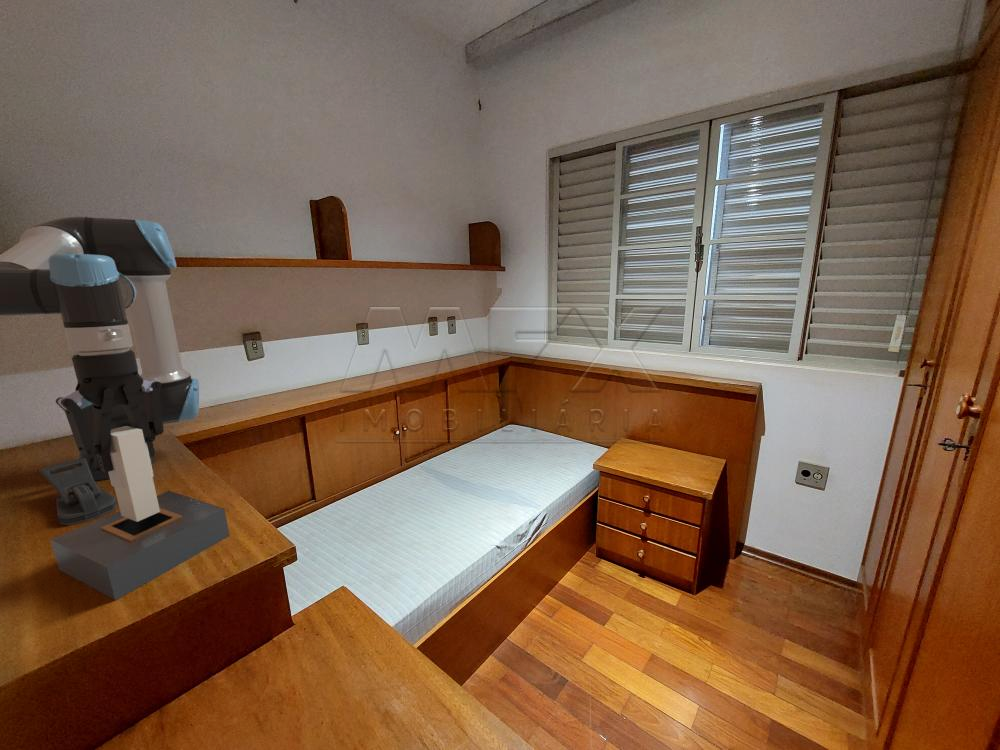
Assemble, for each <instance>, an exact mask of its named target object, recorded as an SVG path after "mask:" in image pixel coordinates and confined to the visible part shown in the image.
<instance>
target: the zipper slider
mask: <svg viewBox="0 0 1000 750" xmlns="http://www.w3.org/2000/svg"><path fill="white" fill-rule="evenodd" d="M76 466H82V467H79V468H75V467H76ZM71 468H72V469H71ZM67 469H68V470H67ZM60 471H61V472H60ZM39 473H40V474H41V475H42V476H43V477H44V479H46V480H47V482H48V483H49V484H50V485H51V486H52V487H53V488H54V489H55V491H56V492H58V494H59V495H60V496H59V497H56V498H55V500H56V501H55V502H56V510H57V511H56V513H57V520H58V522H59V525H64V526H74V525H78V524H82V523H87V522H90V521H93V520H95V519H98V518H101V517H103V516H106V515H107V514H110V513H112V512H114V511H115V510H116V508H117V507H118V501H117V500H116V499H117V497H116V496H114V495H113V494H112V493H109V492H107V491H105V490H103V488H100V487H99V486H98V485H97V483H96V480H95V481H94V479H93V477H92V474H91V471H90V469H89V466H88V463H87V461H86V459H85V458H83V459H77V458H76V459H72V460H69V461H64V462H63V461H62V462H59V463H57V464H56V463H55V464H53V465H48V466H45V467H43V468H41V469H39Z"/></svg>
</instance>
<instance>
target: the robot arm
mask: <svg viewBox="0 0 1000 750" xmlns="http://www.w3.org/2000/svg"><path fill="white" fill-rule="evenodd" d="M176 268H177V262H176V258H175V254H174V251H173V248H172V245H171V242H170V240H169V238H168V235H167V232H166V230H165V229H164V227H163V226H162V225H161V224H160V223H158V222H155V221H152V220H151V221H150V220H149V221H148V220H141V219H127V218H126V219H124V218H123V219H122V218H107V217H89V216H70V217H69V216H68V217H62V218H57V219H52V220H48V221H45V222H41V223H38V224H35V225H34V226H32V227H30V228H28V229H27V230H25V231H23V232H22V233H21V235H20V237H19V240H18V243H16V244H14V246H12V247H11V248H9V249H7V250H6V251H4V252H2V253H1V254H0V317H1V316H2V317H3V316H4V317H6V316H7V317H8V316H29V315H30V316H32V315H50V314H51V315H52V314H53V315H55V314H57V315H61V319H62V323H63V328H64V331H65V332H64V334H65V337H66V340H67V345H68V350H69V351H70V352H71V353H75V354H74V355H73V356H72V357H71V361H72V364H73V368H74V373H75V377H76V381H77V384H76V387H75V391H74V392H72V393H70V394H68V395H66V396H64V397H62V396H60V397H57V398H56V399H55V403H56V405H57V406H59V408H60V409H62V410H63V412H64V413H65V416H66V419H67V421H68V424H69V425H68V426H69V427H70V430H71V433H72V435H73V438H74V441H75V444H76V447H77V450H78V453H77V458H76V460H77V459H83V458H85V459H86V461H87V463H88V466H89V469H90V471H91V474H92V477H93V479H94V481H95V482H96V481H102V480H110V484H111V486H112V487H117V488H120V489H121V488H123V487H125V483H124V479H123V474H122V470H121V466H120V462H119V458H118V453H117V452H116V451H112V450H111V430H112V429H116V428H120V427H124V426H129V427H133V428H138V429H142V431H143V436H144V440H145V445H146V450H147V454H148V459H149V463H150V468H151V472H152V477H153V478H154V476H155V475H154V471H153V467H152V466H153V465H152V462H153V461H154V459H153V458H154V457H155V454H156V453H155V448H154V442H155V441H156V437H157V436H159V435H162V434H163V433H164V432H165V430H164V425H166V424H173V423H180V422H185V421H189V420H194V419H195V418H197V417H198V415H199V410H200V408H199V407H200V386H199V380H198V379H197V378H192V376H191V372H189V371H188V370H186V369H184V368H183V364H182V360H181V353H180V349H179V344H178V339H177V334H176V329H175V325H174V324H175V323H174V318H173V314H172V309H171V306H170V305H171V304H170V299H169V294H168V290H167V285H166V282H167V281H168V280H169V279H170V278H171V276H172V272H171V270H175V269H176ZM126 309H127V312H128V317H129V321H130V325H131V329H132V334H133V337H134V338H133V339H134V342H135V347H136V352H137V355H138V361H139V364H140V369H141V374H139V368H138V363H137V358H136V353H135V351H133V350H132V349H130V348H131V347H133V346H134V344H133V339H132V335H131V329H130V326H129V323H128V322H129V321H128V317H127V313H126ZM79 467H82V466H76V467H74V469H75V468H79Z"/></svg>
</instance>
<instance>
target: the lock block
mask: <svg viewBox="0 0 1000 750" xmlns="http://www.w3.org/2000/svg"><path fill="white" fill-rule="evenodd" d="M157 500H158V504H159V509H160V512H158V513H156V514H154V515H151V516H149V517H147V518H145V519H142V520H140V521H138V522H136V521H134V520H131V519H128V518H126V517H123V516H121V512H120V510H119V511H117V512H114V513H112V514H109V515H107V516H105V517H102V518H99V519H97V520H95V521H92V522H90V523H87V524H85V525H82V526H79V527H78V528H76V529H73V530H70V531H68V532H66V533H65V532H64V533H62V534H60V535H58V536H56V537H54V538H50V544H51V546H52V550H53V553H54V557H55V561H56V565H57V567H58V570H59V571H60V572H62V573H64V574H65V575H68V576H70V577H71V578H73V579H75V580H77V581H79V582H81V583H82V584H84V585H86V586H88V587H90V588H92V589H94V590H96V591H97V592H99V593H101V594H103V595H105V596H107V597H108V598H110V599H111V600H114V601H117V600H119V599H120V598H122V597H124V596H126V595H128V594H129V593H131V592H133V591H135V590H137V589H138V588H140V587H141V586H144V585H145V584H147V583H150V582H151V581H152V580H154V579H156V578H158V577H160V576H161V575H162V574H165V573H166V572H168V571H170V570H171V569H173V568H175V567H177V566H179V565H181V564H183V563H184V562H186V561H187V560H189V559H191V558H193V557H195V556H196V555H198V554H199V553H201V552H204V551H205V550H208V549H209V548H210V547H212V546H214V545H215V544H217V543H219V542H221V541H222V540H225V539H226V538H228V537H230V531H229V525H228V520H227V514H226V508H224V507H220V506H218V505H216V504H215V505H214V504H212V503H208V502H205V501H202V500H200V499H196V498H193V497H190V496H187V495H183V494H181V493H178V492H174V491H172V490H171V491H170V490H168V491H166V492H163V493H161V494H158V495H157Z"/></svg>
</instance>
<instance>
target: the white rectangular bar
mask: <svg viewBox="0 0 1000 750" xmlns="http://www.w3.org/2000/svg"><path fill="white" fill-rule="evenodd" d="M111 450H112V451H116V452H117V453H118V458H119V462H120V466H121V470H122V474H123V479H124V483H125V487H123V488H121V489H120V488H117V487H114V486H113V487H114V492H115V495H116V496H115V497H116V499H117V500H116V501H117V505H118V507H119V511H120V512H121V516H123V517H126V518H128V519H131V520H134V521H136V522H138V521H140V520H142V519H145V518H147V517H149V516H151V515H154V514H156V513H158V512H160V509H159V504H158V500H157V496H158V495H157V492H156V486H155V483H154V476H153V477H152V472H151V468H150V463H149V459H148V454H147V450H146V445H145V440H144V436H143V431H142V429H138V428H133V427H129V426H124V427H120V428H116V429H112V430H111Z"/></svg>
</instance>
